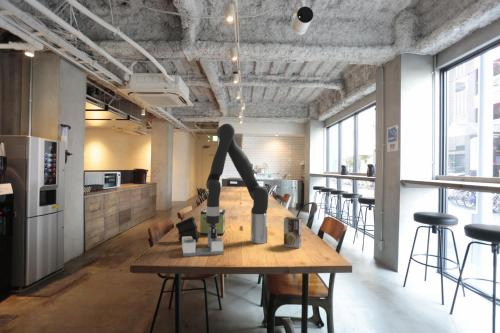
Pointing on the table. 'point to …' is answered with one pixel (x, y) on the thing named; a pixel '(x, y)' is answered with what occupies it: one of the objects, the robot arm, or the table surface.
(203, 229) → the protein box
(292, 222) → the coffee box
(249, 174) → the robot arm
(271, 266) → the table surface
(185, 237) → the block
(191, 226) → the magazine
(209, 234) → the block
